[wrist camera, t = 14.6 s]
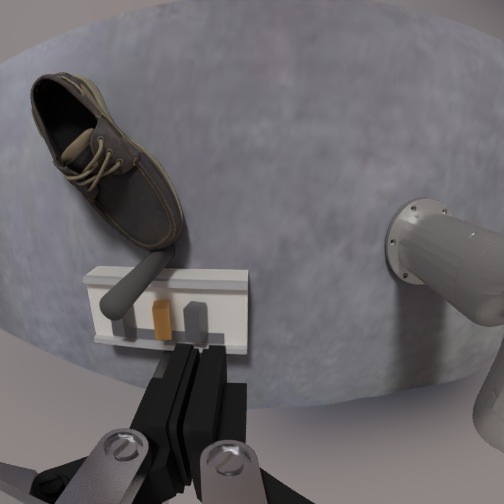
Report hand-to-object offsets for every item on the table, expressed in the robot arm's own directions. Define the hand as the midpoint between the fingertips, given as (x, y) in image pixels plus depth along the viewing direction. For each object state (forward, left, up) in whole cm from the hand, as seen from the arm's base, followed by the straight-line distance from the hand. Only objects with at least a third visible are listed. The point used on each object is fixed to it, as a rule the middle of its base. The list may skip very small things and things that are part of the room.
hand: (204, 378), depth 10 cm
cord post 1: (+10, +4, -31) cm, 33 cm away
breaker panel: (+10, +12, -31) cm, 35 cm away
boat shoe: (+18, -9, -32) cm, 37 cm away
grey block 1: (+15, +12, -27) cm, 33 cm away
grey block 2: (+5, +12, -27) cm, 30 cm away
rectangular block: (+10, +12, -27) cm, 31 cm away
